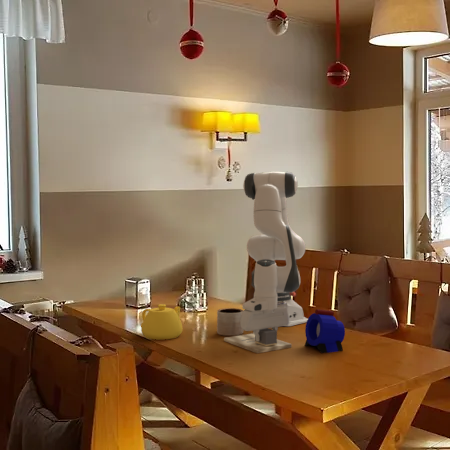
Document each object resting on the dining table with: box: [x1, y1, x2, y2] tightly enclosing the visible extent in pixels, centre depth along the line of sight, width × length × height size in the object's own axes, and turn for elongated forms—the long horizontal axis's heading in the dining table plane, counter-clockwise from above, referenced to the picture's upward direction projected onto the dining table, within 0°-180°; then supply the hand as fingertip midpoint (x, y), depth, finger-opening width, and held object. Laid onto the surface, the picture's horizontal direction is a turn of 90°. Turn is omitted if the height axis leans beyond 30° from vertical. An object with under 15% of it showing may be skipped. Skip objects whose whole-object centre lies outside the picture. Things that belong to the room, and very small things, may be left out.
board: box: [223, 332, 293, 354], centre depth 247 cm, size 16×22×1 cm
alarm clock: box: [304, 308, 346, 354], centre depth 241 cm, size 12×12×15 cm
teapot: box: [140, 303, 183, 341], centre depth 263 cm, size 20×19×13 cm
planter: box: [216, 307, 245, 337], centre depth 264 cm, size 11×11×10 cm
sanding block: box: [255, 328, 278, 346], centre depth 242 cm, size 5×7×5 cm
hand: (265, 339), depth 242 cm, fingers closed on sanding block, 5 cm apart
